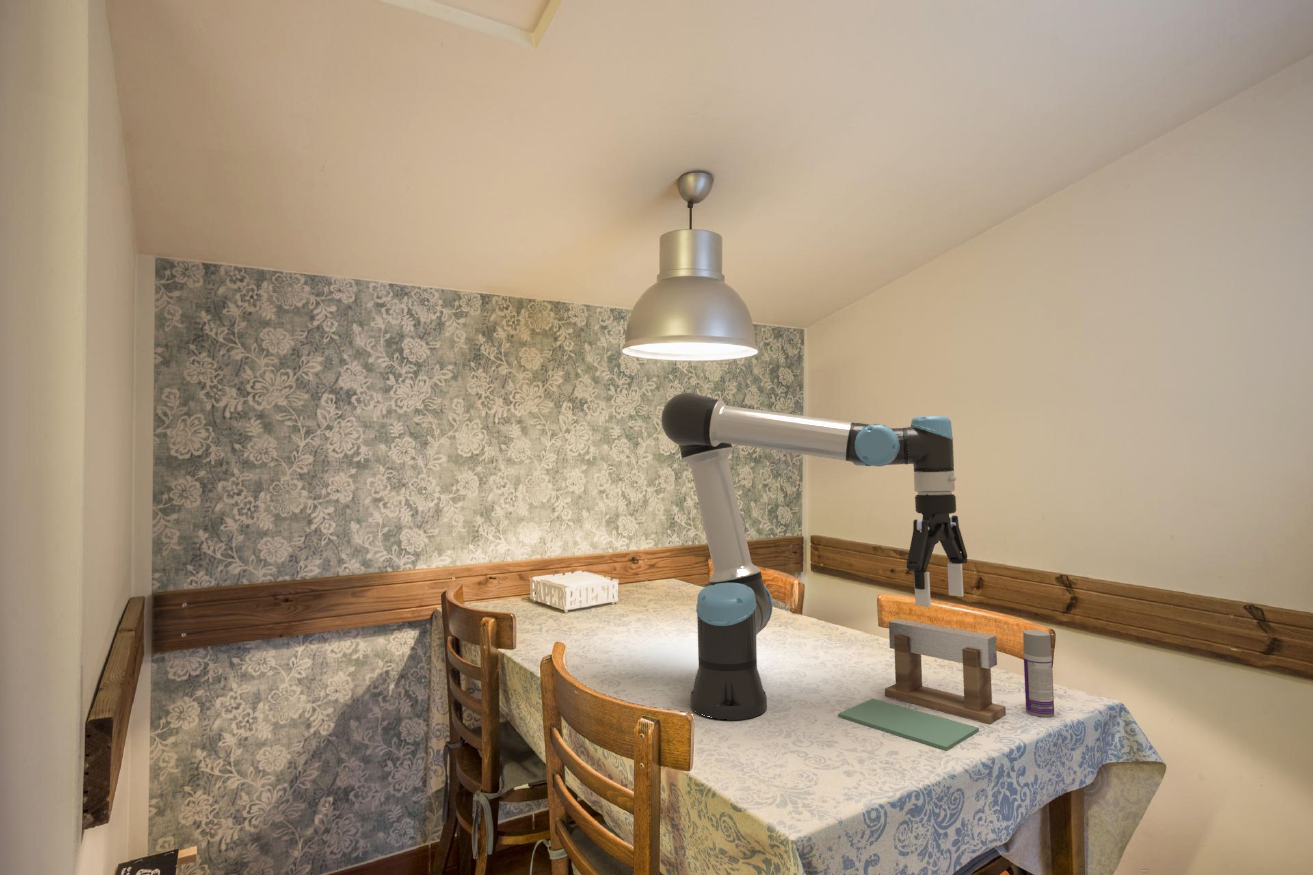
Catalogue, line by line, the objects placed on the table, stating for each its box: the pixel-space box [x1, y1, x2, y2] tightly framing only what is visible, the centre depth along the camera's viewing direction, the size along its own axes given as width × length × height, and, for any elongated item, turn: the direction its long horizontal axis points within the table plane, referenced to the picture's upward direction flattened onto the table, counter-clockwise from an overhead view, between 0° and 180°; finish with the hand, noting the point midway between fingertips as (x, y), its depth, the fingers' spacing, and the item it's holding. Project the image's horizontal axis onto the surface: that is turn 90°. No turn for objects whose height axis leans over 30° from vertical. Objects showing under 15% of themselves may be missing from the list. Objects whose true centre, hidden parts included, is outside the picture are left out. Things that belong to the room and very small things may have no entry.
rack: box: [884, 635, 1007, 725], centre depth 132 cm, size 7×21×12 cm, turn 41°
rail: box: [888, 618, 998, 669], centre depth 133 cm, size 4×20×5 cm, turn 41°
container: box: [1022, 629, 1055, 718], centre depth 127 cm, size 5×5×15 cm
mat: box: [837, 698, 980, 752], centre depth 123 cm, size 12×21×1 cm, turn 41°
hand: (940, 600), depth 133 cm, fingers open, 13 cm apart
